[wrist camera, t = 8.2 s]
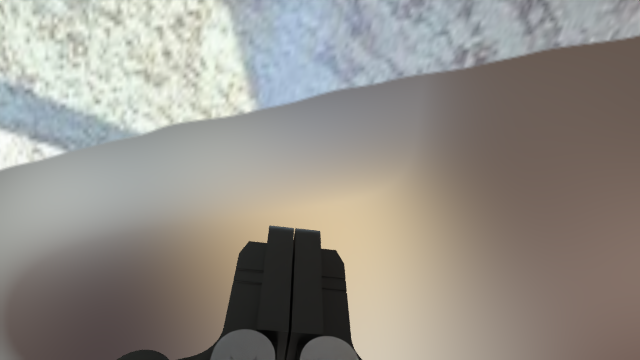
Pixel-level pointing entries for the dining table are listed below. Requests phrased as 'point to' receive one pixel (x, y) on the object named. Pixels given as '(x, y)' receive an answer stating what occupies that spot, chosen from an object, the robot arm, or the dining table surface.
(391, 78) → the dining table surface
